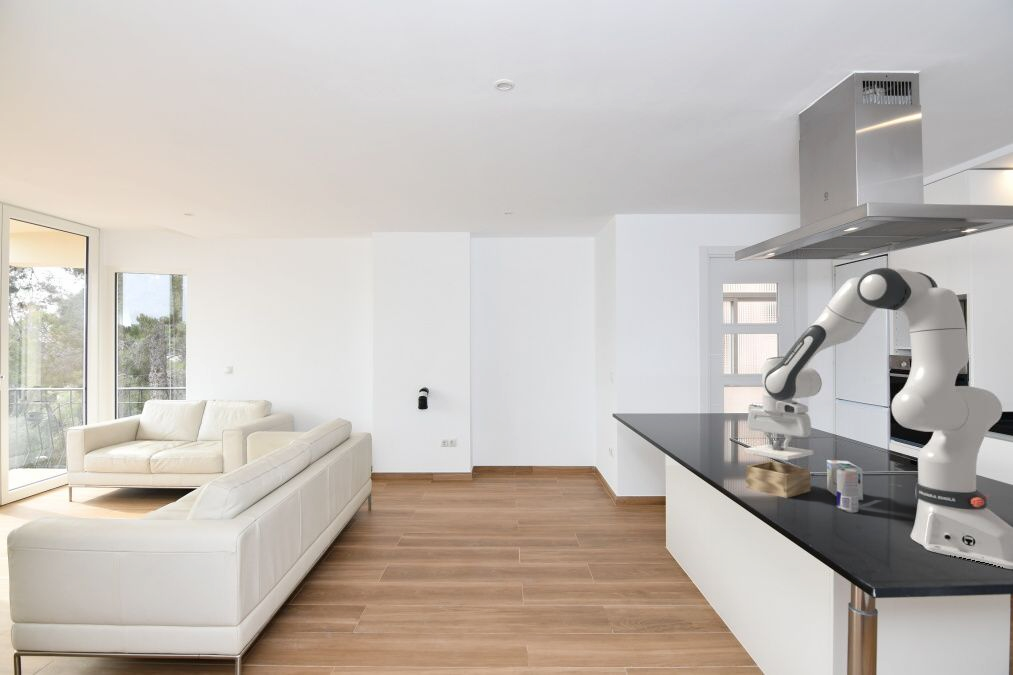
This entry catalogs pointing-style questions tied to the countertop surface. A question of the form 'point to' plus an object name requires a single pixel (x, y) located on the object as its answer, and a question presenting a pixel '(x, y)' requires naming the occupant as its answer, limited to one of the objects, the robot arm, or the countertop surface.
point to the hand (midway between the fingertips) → (778, 446)
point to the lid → (778, 451)
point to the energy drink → (847, 489)
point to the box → (778, 479)
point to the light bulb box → (832, 476)
